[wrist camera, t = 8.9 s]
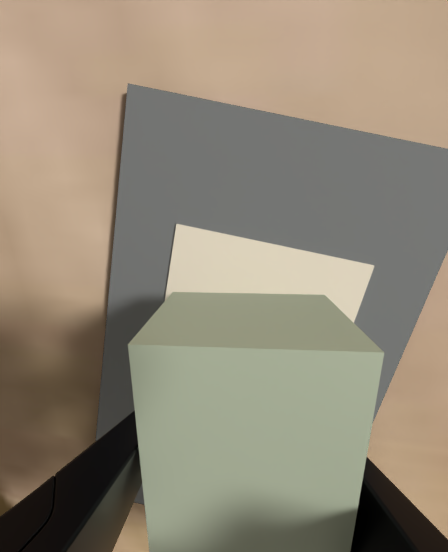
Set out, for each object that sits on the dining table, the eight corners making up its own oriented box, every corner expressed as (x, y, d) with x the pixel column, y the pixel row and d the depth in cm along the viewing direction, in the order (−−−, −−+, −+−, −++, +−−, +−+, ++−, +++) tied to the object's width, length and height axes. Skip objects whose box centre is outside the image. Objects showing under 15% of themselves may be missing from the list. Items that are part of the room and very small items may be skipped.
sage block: (324, 294, 8) (387, 355, 5) (305, 484, 10) (340, 626, 7) (172, 292, 8) (125, 347, 5) (182, 476, 10) (153, 609, 7)
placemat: (318, 535, 14) (320, 546, 14) (95, 485, 14) (89, 494, 14) (478, 159, 9) (490, 156, 9) (132, 88, 9) (126, 81, 9)
